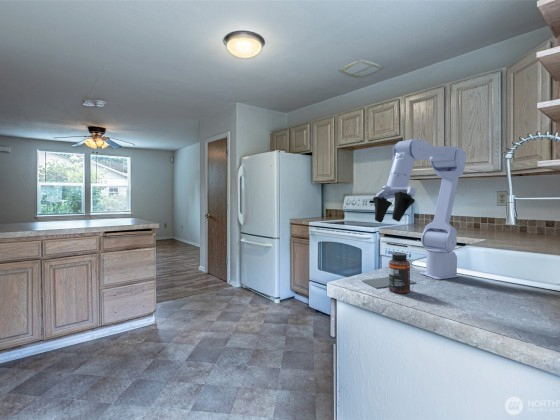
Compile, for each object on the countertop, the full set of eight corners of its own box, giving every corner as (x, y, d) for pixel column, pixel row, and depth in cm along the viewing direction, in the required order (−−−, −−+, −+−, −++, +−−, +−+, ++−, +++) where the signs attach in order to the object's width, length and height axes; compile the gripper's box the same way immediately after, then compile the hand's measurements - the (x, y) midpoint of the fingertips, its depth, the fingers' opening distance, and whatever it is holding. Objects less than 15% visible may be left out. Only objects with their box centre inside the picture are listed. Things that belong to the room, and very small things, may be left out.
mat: (398, 276, 108) (398, 275, 108) (415, 283, 100) (416, 282, 100) (361, 281, 103) (361, 280, 103) (376, 288, 96) (376, 287, 96)
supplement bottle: (406, 287, 96) (407, 251, 95) (412, 294, 90) (413, 255, 89) (386, 287, 97) (386, 251, 96) (391, 293, 91) (391, 255, 90)
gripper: (373, 176, 97) (360, 216, 94) (406, 166, 83) (393, 213, 81) (390, 185, 99) (378, 225, 96) (426, 177, 86) (413, 223, 83)
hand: (386, 220), depth 89 cm, fingers open, 7 cm apart
